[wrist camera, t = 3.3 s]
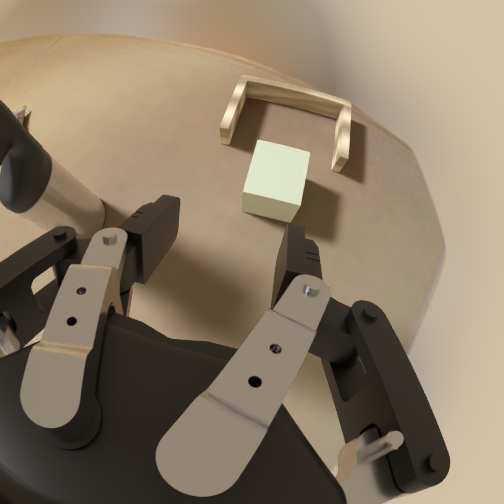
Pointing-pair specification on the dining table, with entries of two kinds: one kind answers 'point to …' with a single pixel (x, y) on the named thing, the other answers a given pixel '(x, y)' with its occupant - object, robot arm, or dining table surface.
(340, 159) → the birch corral
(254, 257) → the dining table surface
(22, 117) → the packaged food
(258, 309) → the dining table surface
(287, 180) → the sage block
